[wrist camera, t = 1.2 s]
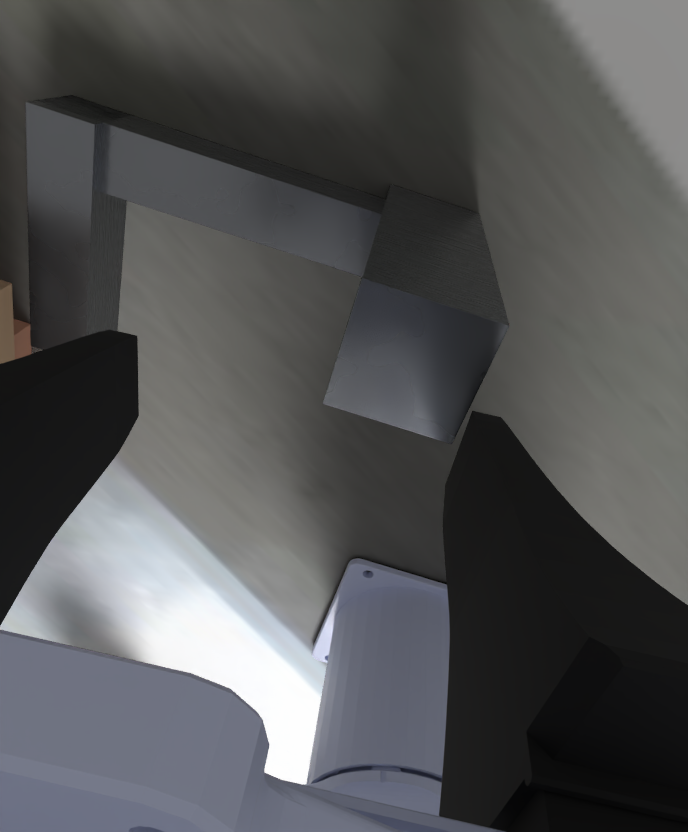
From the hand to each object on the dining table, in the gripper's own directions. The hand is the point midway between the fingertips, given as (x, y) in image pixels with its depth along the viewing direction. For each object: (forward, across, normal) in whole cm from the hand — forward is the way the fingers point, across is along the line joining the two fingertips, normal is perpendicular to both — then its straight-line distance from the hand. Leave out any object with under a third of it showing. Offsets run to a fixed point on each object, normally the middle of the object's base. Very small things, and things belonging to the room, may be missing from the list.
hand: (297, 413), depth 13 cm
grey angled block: (+10, -2, -1) cm, 10 cm away
